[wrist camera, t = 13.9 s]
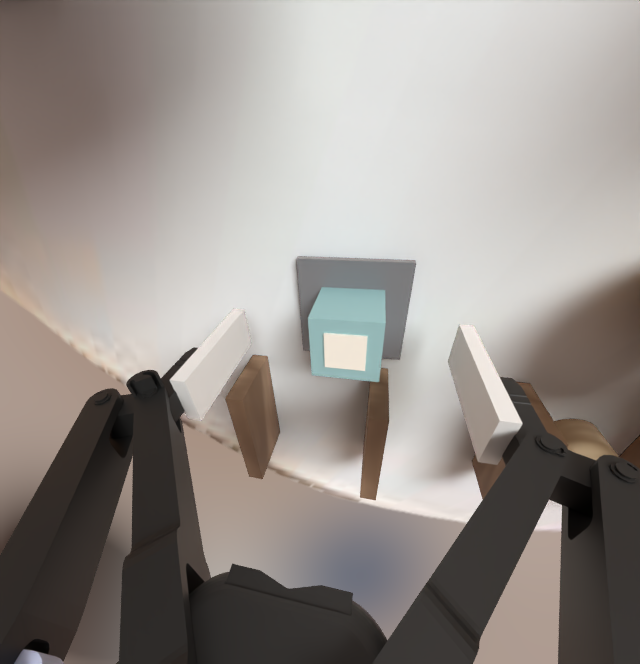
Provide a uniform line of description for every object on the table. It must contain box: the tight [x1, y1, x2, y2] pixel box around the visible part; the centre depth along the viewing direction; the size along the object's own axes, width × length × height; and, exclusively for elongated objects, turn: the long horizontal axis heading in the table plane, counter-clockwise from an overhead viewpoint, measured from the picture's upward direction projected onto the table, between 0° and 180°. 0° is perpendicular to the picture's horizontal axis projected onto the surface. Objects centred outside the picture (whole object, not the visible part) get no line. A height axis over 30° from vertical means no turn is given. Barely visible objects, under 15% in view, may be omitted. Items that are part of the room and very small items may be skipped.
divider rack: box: [225, 355, 640, 500], centre depth 23 cm, size 34×11×6 cm, turn 91°
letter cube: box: [308, 287, 386, 382], centre depth 19 cm, size 4×4×5 cm
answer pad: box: [297, 256, 416, 360], centre depth 21 cm, size 8×8×1 cm
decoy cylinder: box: [554, 419, 619, 460], centre depth 22 cm, size 4×4×5 cm
